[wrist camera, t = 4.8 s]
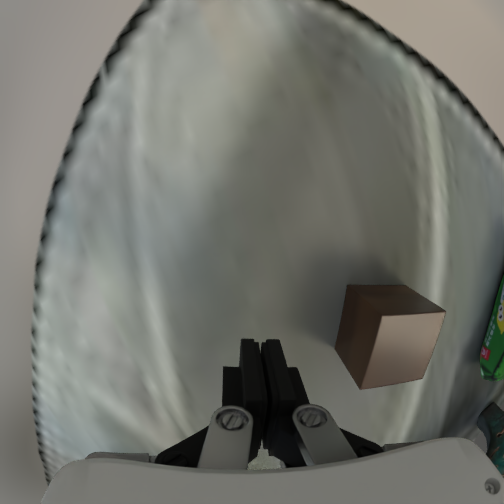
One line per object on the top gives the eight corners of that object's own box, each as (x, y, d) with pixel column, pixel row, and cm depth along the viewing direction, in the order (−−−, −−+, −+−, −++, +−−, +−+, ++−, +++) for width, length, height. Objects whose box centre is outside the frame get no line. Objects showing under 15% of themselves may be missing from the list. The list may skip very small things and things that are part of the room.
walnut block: (334, 348, 19) (359, 390, 14) (347, 284, 18) (381, 315, 13) (390, 344, 20) (422, 379, 15) (405, 285, 19) (446, 310, 14)
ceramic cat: (501, 390, 24) (573, 460, 5) (496, 412, 26) (557, 478, 6) (392, 471, 25) (444, 574, 6) (396, 484, 27) (440, 574, 7)
